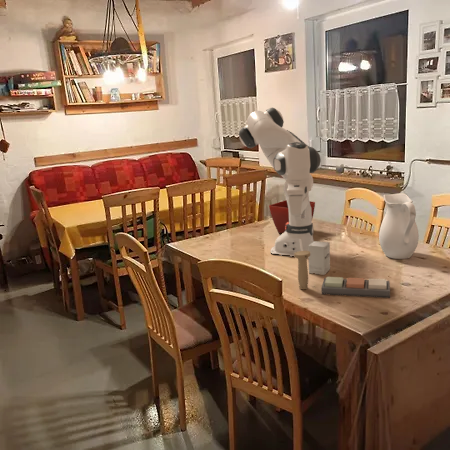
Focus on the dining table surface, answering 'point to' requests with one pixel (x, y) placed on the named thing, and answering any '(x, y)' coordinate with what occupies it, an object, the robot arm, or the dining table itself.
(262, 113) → the robot arm
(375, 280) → the key offwhite
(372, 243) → the dining table surface
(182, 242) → the dining table surface
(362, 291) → the keypad
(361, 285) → the key terracotta
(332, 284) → the key sage
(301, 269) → the handle
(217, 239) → the dining table surface
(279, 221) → the plant pot
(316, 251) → the supplement box
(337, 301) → the dining table surface
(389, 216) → the pitcher
